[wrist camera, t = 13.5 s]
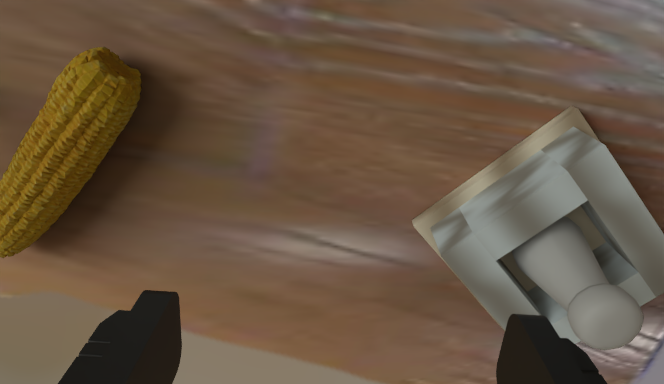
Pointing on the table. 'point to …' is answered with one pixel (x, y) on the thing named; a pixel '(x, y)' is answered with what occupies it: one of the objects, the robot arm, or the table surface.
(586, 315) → the salt shaker
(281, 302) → the table surface
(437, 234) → the caddy
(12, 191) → the food
